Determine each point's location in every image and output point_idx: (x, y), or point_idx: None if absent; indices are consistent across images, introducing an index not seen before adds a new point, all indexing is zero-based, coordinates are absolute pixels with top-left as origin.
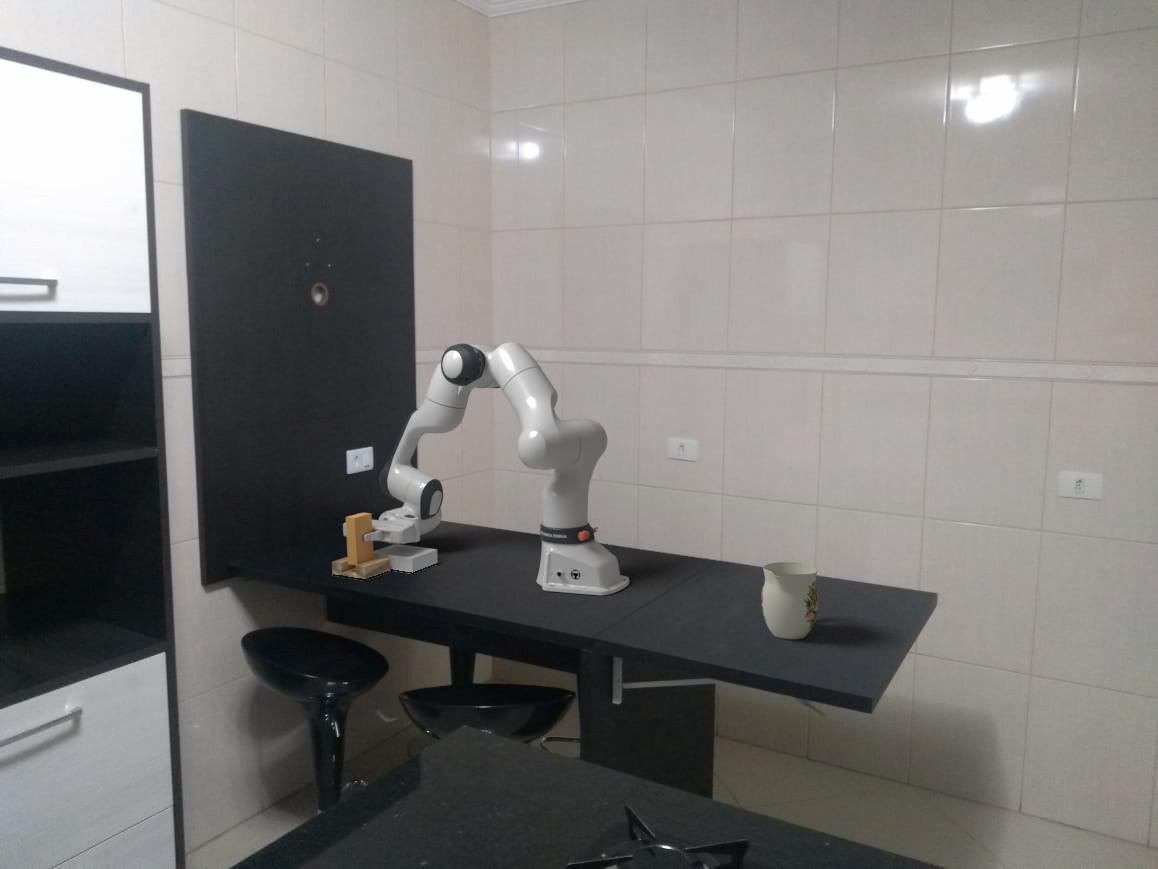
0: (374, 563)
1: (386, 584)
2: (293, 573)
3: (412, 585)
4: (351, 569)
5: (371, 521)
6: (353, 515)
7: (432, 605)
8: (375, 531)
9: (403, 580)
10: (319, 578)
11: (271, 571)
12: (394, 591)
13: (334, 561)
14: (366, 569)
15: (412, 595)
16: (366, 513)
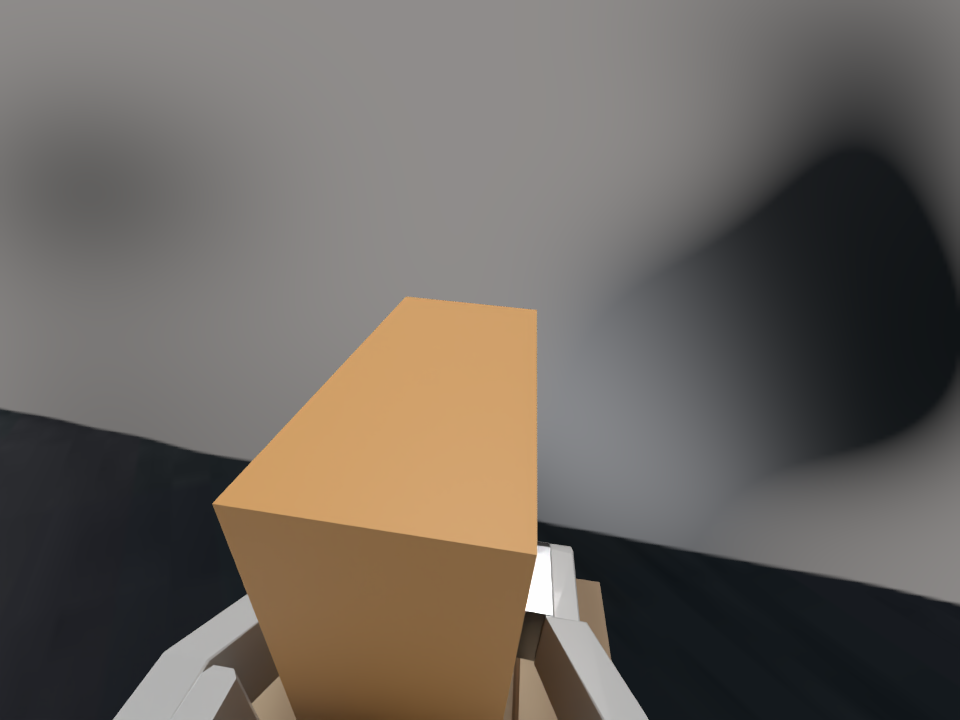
0: None
1: (205, 568)
2: (797, 601)
3: (35, 591)
4: (510, 710)
5: (268, 613)
6: (512, 354)
7: (20, 414)
8: (225, 675)
9: (77, 675)
10: (596, 562)
11: (925, 599)
12: (160, 493)
13: (592, 594)
14: None
15: (77, 471)
16: (365, 487)
